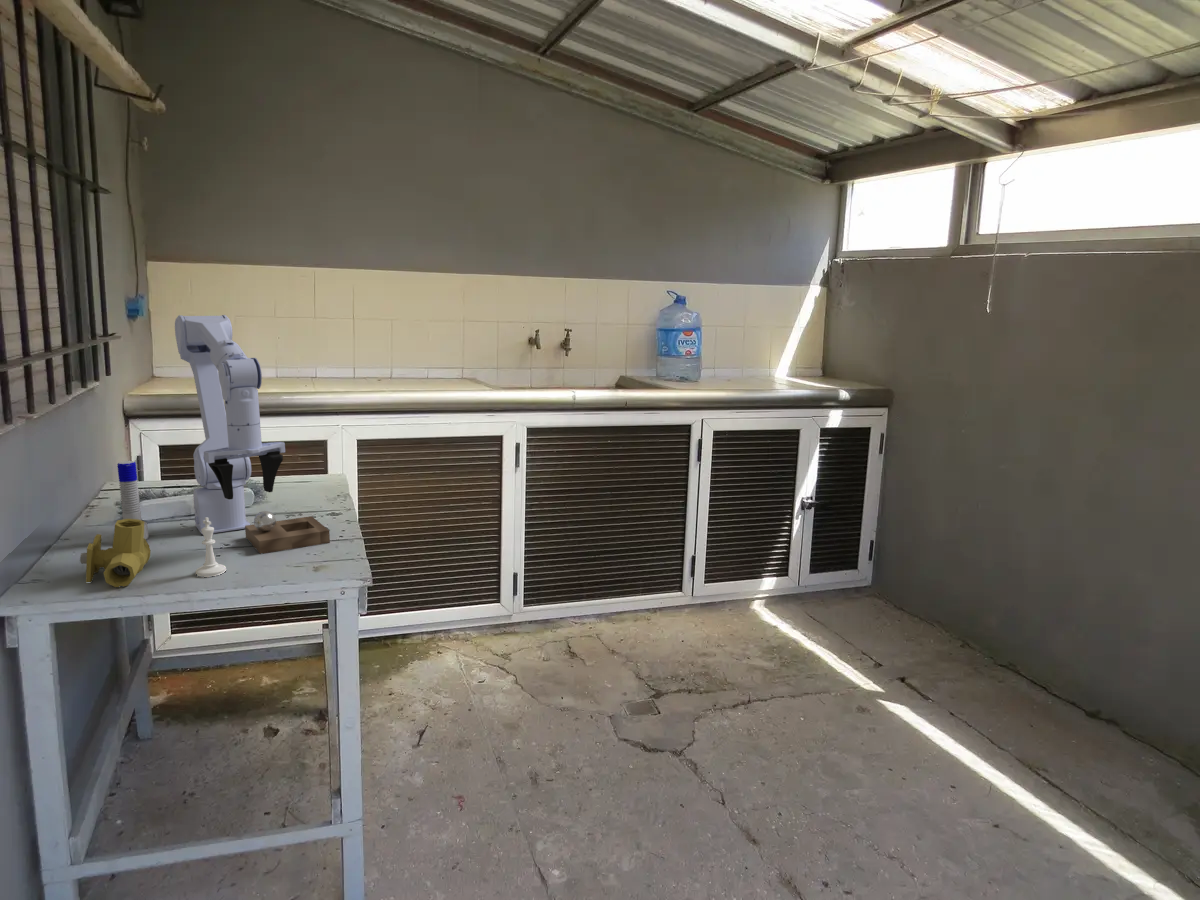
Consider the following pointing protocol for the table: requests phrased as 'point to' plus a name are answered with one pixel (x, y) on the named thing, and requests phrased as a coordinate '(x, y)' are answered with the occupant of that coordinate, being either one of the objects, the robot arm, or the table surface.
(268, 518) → the steel ball
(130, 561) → the ball valve
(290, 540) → the pocket board
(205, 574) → the chess piece
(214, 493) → the robot arm
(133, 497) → the bolt
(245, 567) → the table surface
